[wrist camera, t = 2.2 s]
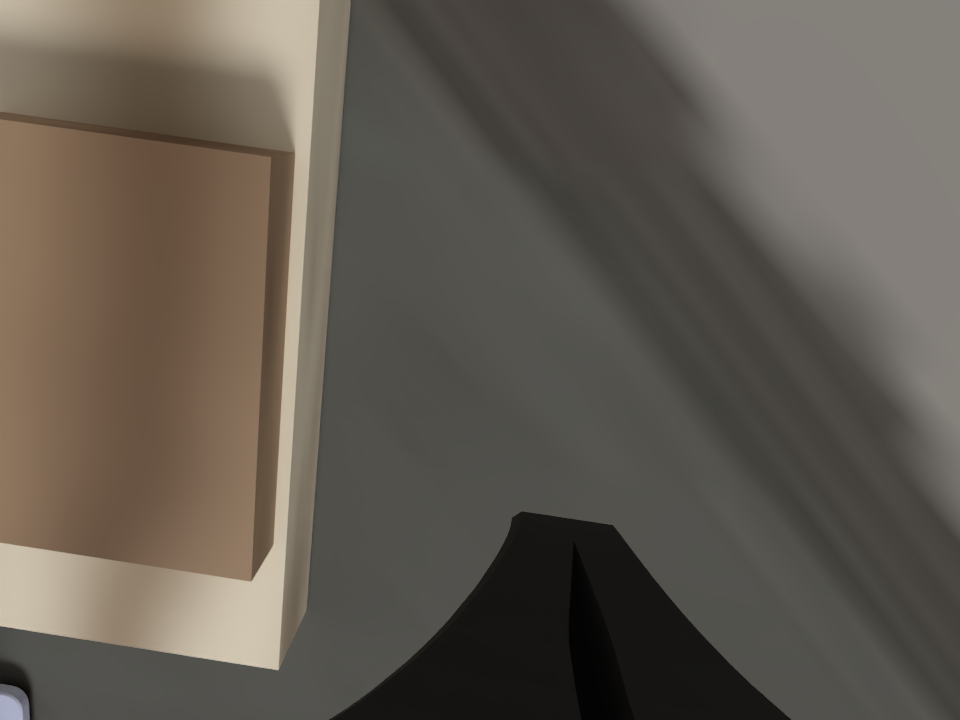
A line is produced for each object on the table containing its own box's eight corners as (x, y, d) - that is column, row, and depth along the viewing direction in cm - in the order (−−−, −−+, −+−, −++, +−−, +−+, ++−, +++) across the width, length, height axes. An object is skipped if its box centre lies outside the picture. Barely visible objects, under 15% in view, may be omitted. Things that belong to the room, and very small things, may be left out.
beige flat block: (43, 568, 22) (-16, 623, 20) (14, -63, 17) (-69, -90, 15) (306, 609, 22) (278, 670, 20) (352, -18, 17) (321, -38, 15)
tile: (24, 507, 19) (-18, 540, 17) (3, 112, 16) (-49, 112, 15) (273, 545, 19) (251, 581, 17) (295, 153, 16) (271, 156, 14)
